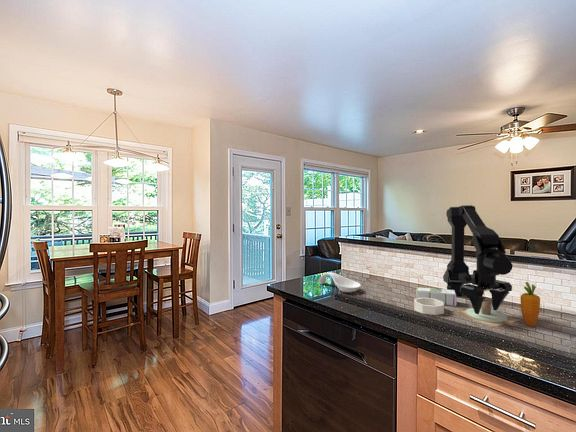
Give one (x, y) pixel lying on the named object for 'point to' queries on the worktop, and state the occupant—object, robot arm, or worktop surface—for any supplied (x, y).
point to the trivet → (509, 320)
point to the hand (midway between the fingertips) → (486, 312)
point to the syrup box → (438, 295)
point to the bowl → (429, 306)
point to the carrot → (530, 305)
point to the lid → (487, 314)
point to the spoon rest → (341, 282)
